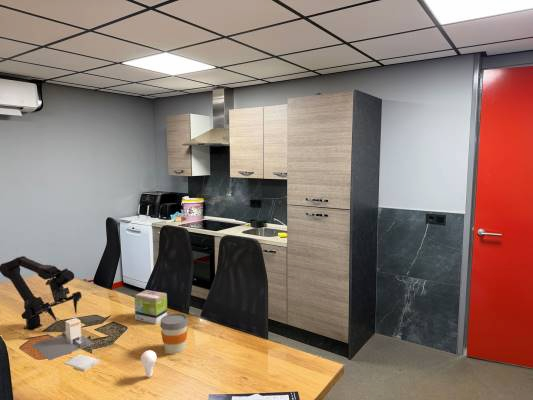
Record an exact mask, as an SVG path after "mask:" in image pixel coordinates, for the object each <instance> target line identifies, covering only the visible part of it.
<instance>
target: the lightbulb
mask: <svg viewBox="0 0 533 400" xmlns="http://www.w3.org/2000/svg"><path fill="white" fill-rule="evenodd" d="M157 359H158V358H157V353H156V352H155V351H153V350H146V351H144V352H143V353H142V354H141V356H140V363H141V364H142V366H143V367H144V368H143V369H144V372H145V376H146V377H147V378H151V377H152V376H153V372H154V371H153V370H154V365H155V364H156V361H157Z"/></svg>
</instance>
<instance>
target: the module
mask: <svg viewBox="0 0 533 400" xmlns="http://www.w3.org/2000/svg"><path fill="white" fill-rule="evenodd" d="M81 322H82V321H81V320H80V319H79V318H77V317H74V318H72V319H68V320H66V321H65V331H66V341H68V342H69V343H70V344H72V343H73V339H75V338H77V339H79V340H81V335H82V326H81V325H82V324H81Z"/></svg>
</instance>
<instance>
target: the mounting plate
mask: <svg viewBox="0 0 533 400" xmlns="http://www.w3.org/2000/svg"><path fill="white" fill-rule="evenodd" d="M80 341H82V342H85V341H86V346H84V347H81V348H79V345H77V344H76V343H75V342H73V343H72V344H70V343H69V342H68V341H66V336H62V334H60V335H57V336H53V337H51V338H48V339H45V340H43V341H39V342H36V343H33V344H31V346H32V347H33V348H34V349H36V350H37V351H38V353H41V355H42V356H44V357H45V358H46V359H48V361H52V360H54V359H57V358H61V357H63V356H66V355H68V354H71V353H73V352H77V351H78V350H82V349H84V348H86V347H89V346H92V345H95V342H93V341H92V340H91V339H89V338H87V337H85V336H84V335H83V334H81V340H80Z"/></svg>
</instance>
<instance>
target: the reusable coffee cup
mask: <svg viewBox="0 0 533 400" xmlns="http://www.w3.org/2000/svg"><path fill="white" fill-rule="evenodd" d="M188 324H189V319H188V316H187V315H186V314H184V313H169V314H167V315H166V316H164V317H163V318H162V319H161V322H160V328H161V332H160V333H161V339H162V343H163V346H164V351H165V353H166V354H168V353H169V355H177V354H176V353H178V354H181V353H183V352H184V351H185V347H186V340H187V338H188V337H187V336H188ZM183 350H184V351H183ZM180 352H181V353H180Z"/></svg>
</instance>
